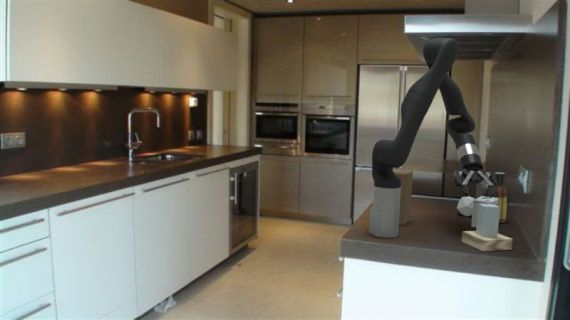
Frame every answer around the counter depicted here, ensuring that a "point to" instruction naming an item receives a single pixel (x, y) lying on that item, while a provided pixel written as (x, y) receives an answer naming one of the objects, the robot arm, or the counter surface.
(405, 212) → the wooden block
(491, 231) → the grey rectangular block
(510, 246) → the beech block
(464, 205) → the die
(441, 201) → the counter surface
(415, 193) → the counter surface
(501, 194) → the sauce bottle
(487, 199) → the light bulb box
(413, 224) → the counter surface
